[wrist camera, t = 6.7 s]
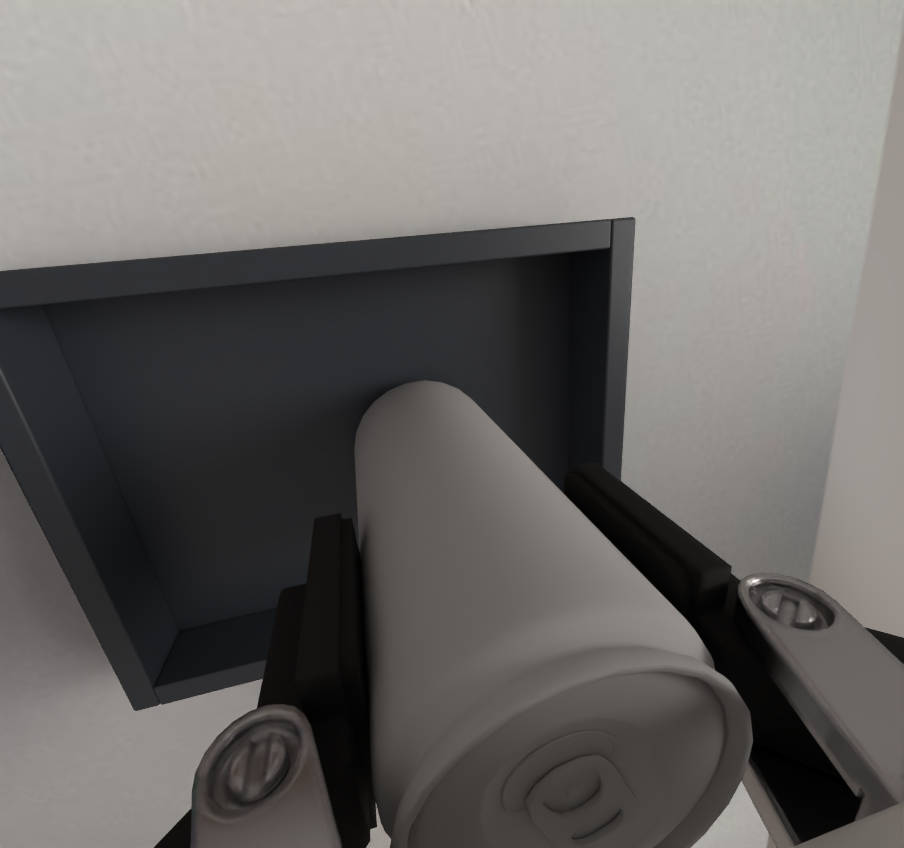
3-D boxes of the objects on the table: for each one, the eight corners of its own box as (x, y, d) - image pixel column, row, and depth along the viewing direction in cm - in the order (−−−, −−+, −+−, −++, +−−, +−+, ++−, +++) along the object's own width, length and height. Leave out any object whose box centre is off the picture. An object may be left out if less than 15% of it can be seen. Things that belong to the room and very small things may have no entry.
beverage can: (446, 351, 15) (720, 572, 4) (502, 456, 17) (789, 798, 6) (326, 420, 15) (277, 843, 4) (396, 519, 17) (494, 986, 6)
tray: (585, 226, 15) (636, 216, 13) (579, 545, 20) (615, 587, 17) (7, 276, 12) (-89, 278, 9) (166, 642, 17) (133, 712, 14)
